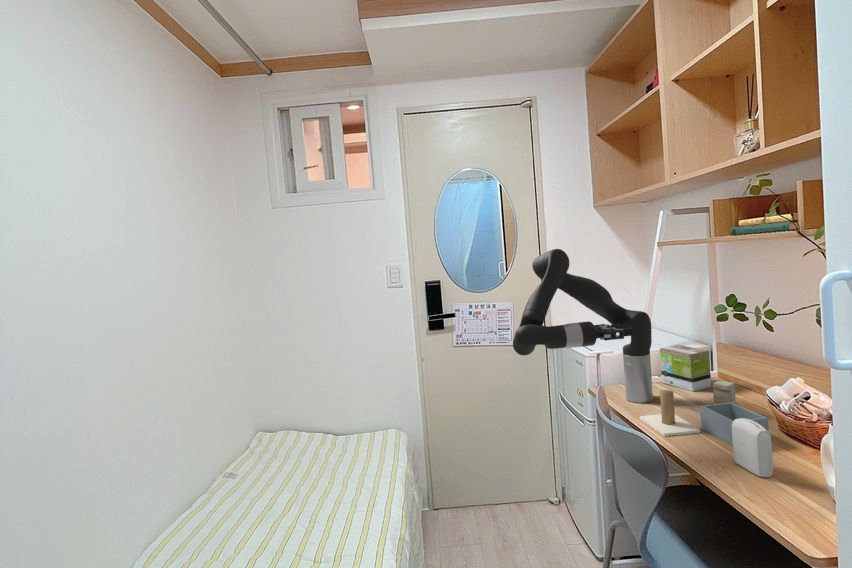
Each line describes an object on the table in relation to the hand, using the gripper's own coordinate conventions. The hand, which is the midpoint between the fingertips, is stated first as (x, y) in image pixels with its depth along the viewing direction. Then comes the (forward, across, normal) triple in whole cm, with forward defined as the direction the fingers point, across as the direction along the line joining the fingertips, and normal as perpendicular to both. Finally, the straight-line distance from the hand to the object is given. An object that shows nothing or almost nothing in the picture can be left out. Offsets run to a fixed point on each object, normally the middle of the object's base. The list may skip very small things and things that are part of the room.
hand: (628, 329), depth 154 cm
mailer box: (+24, -12, +32) cm, 42 cm away
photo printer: (+14, -33, +32) cm, 48 cm away
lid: (+11, 0, +32) cm, 34 cm away
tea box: (+39, +37, +32) cm, 63 cm away
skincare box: (+33, +5, +32) cm, 46 cm away
